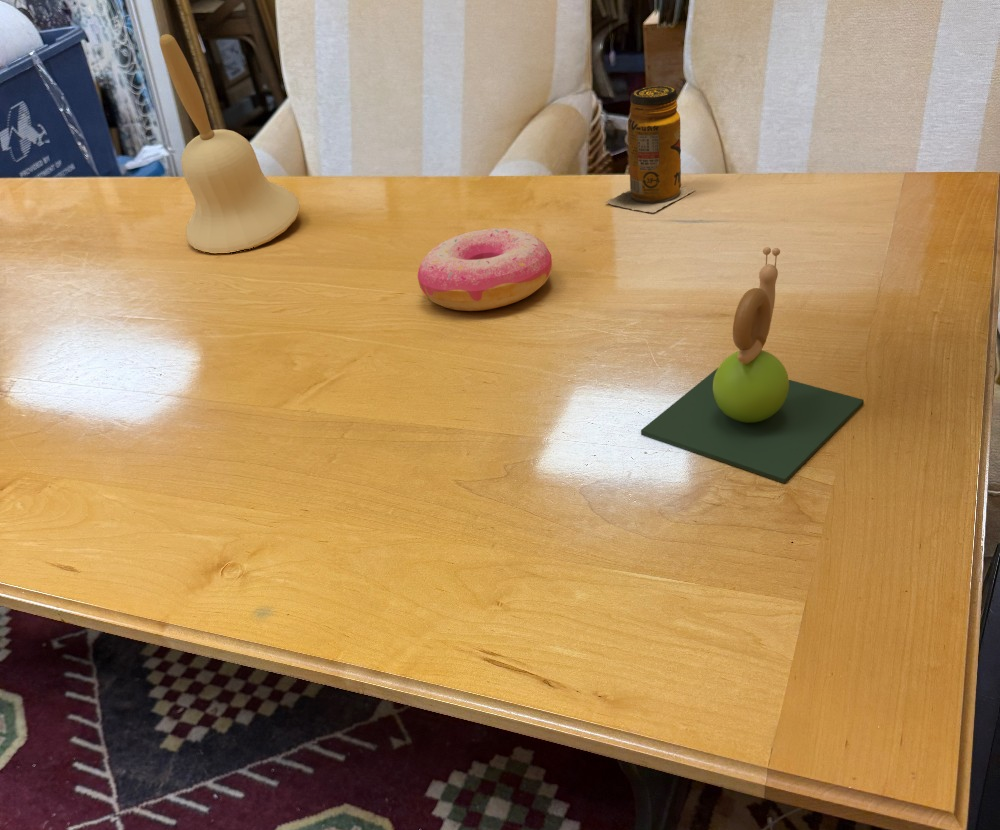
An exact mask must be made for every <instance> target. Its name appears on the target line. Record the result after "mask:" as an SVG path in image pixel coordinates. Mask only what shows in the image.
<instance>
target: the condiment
mask: <svg viewBox="0 0 1000 830" xmlns="http://www.w3.org/2000/svg"><path fill="white" fill-rule="evenodd" d="M677 97H678V93H677V89H676V88H674V87H672V86H669V85H653V86H645V87H641V88H639V89H636V90H633V92H631V94H630V97H629V100H630V108H629V113H630V115H629V118H628V120H627V139H628V159H629V160H628V163H629V164H628V165H629V189H630V190H628V191H625V192H622V193H620V194H619V195H617V196H616V197H613V198H610V199H608V200H607V201H605V202H604V203H605V204H609V205H611V206H615V207H620V208H622V209H623V208H624V209H628V210H629V209H630V210H631V211H634V210H635V211H641V212H644V213H646V212H647V213H651V214H654V213H656V212H657V211H659V210H661V209H663V208H664V207H666V206H669V205H670V204H673V203H674V202H676V201H678V200H681V199H682V198H684V197H686V196H688V195H689V194H692V193H694V192H695V190H696V188H693V187H685V186H683V187H682V170H681V169H682V167H681V164H682V159H681V152H682V149H681V143H682V142H681V115H680V113H679V111H678V110H677V109H678V101H677V100H678V99H677Z"/></svg>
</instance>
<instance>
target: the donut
mask: <svg viewBox="0 0 1000 830" xmlns="http://www.w3.org/2000/svg"><path fill="white" fill-rule="evenodd" d="M552 268H553V259H552V253H551V251H550V250H549V248H548V247H547V245H546V243H545V242H544V241H543V240H542V239H540V238H539V237H537V236H536V235H533V234H532V233H530V232H527V231H524V230H520V229H515V228H504V227H503V228H502V227H500V228H499V227H497V228H495V227H494V228H484V229H478V230H473V231H469V232H465V233H461V234H458V235H455V236H453V237H450V238H448V239H446V240H443V241H441V242H440V243H439V244H437V245H435V246H434V247H433V248H432V249H431V250H430V251H429V252H428V253H427V254H426V255H425V256H424V257H423V258H422V260H421V262H420V264H419V267H418V271H417V282H418V286H419V288H420V289H421V292H422V293H423V294H424V295H425V297H427V299H428V300H429V301H431V302H433V303H434V304H436V305H439V306H440V307H442V308H447V309H449V310H454V311H465V312H473V311H474V312H475V311H487V310H493V309H497V308H501V307H506V306H509V305H511V304H514V303H518V302H519V301H521V300H523V299H527V298H528V297H529V296H531V295H532V294H534V293H535V292H536V291H537V290H539V289H540V288H541V287H543V285H545V284H546V282H547V281H548V279H549V278H550V275H551V272H552V270H553V269H552Z"/></svg>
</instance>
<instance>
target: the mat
mask: <svg viewBox="0 0 1000 830" xmlns="http://www.w3.org/2000/svg"><path fill="white" fill-rule="evenodd" d="M717 369H718V367H717V368H716V369H714V370H713V371H712V372H711V373H709V374H708V375H707V376H706V377H705V378H703V379H702V380H701V381H699V382H698V383H697V384H696V385H694V386H693V387H692V388H691V389H689V390H688V391H687V392H686V393H684V394H683V395H682V396H681V397H680V398H678V399H677V400H676V401H675V402H674V403H672V404H671V405H670V406H669V407H667V408H666V409H665V410H664V411H663V412H661V413H660V414H659V415H658V416H657V417H655V418H654V419H652V421H650V422H649V423H648V424H646V426H644V427H643V428H642V429H640V435H642V436H644V437H648V438H651V439H654V440H658V441H659V442H662V443H665V444H669V445H671V446H674V447H676V448H680V449H683V450H686V451H689V452H692V453H695V454H697V455H700V456H702V457H706V458H709V459H712V460H715V461H717V462H721V463H724V464H727V465H730V466H732V467H736V468H738V469H740V470H744V471H746V472H750V473H753V474H756V475H759V476H761V477H764V478H767V479H771V480H773V481H776V482H779V483H782V484H786V483H787V482H788V481H789V480H790V479H791V478H792V477H793V476H794V475H795V474H796V473H797V472H798V471H799V470H800V469H801V468H802V467H803V466H804V465H805V464H806V463H807V462H808V461H809V460H810V459H811V457H813V456H814V455H815V453H817V452H818V451H819V449H821V448H822V446H823V445H825V444H826V443H827V442H828V440H830V438H832V436H833V435H835V434H836V433H837V432H838V430H840V428H841V427H842V426H843V425H844V424H845V423H847V421H848V420H849V419H850V418H852V416H853V415H854V414H855V413H856V412H857V411H859V409H860V408H861V407H862V406H863V405H864V403H865V400H864V399H863V398H858V397H855V396H853V395H851V396H850V395H847V394H845V393H841V392H837V391H833V390H829V389H825V388H822V387H817V386H814V385H810V384H807V383H803V382H800V381H795V380H791V379H789V390H788V395H787V398H786V400H785V402H784V404H783V405H782V407H781V408H780V409H779V410H778V411H777V412H776V413H775V414H774V415H772V416H771V417H769V418H767V419H765V420H763V421H759V422H754V423H745V422H740V421H737V420H734V419H732V418H730V417H729V416H727V415H726V414H725V413H724V412H723V411H722V410H721V409H720V408H719V406H718V405H717V403H716V400H715V398H714V394H713V380H714V376H715V373H716V371H717Z"/></svg>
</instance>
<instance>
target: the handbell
mask: <svg viewBox="0 0 1000 830" xmlns="http://www.w3.org/2000/svg"><path fill="white" fill-rule="evenodd" d="M159 47H160V51H161V53H162V56H163V59H164V62H165V65H166V69H167V72H168V73H169V75H170V79H171V81H172V84H173V86H174V88H175V91H176V93H177V96H178V98H179V99H180V102H181V103H182V104H181V105H182V106H183V108H184V109H185V111H186V113H187V114H188V116H189V117H190V119H191V121H192V122H193V124H194V127H196V130H197V131H198V133H199V135H196V136H195V137H193V138H192V139H191V140H190V141H189V142H188V143H187V144H186V146H185V147H184V149H183V151H182V154H181V158H180V164H181V171H182V174H183V178H184V181H185V182H186V185H187V187H188V188H189V190H190V193H191V194H192V196H193V198H194V202H195V205H194V209H193V212H192V214H191V216H190V219H189V220H188V222H187V225H186V227H185V228H186V229H185V235H186V242H187V243H188V244H189V245H190V246H191V247H193V248H194V249H195V250H196V249H198V250H204V251H209V252H230V251H237V250H244V249H249V250H251V249H250V248H252V249H254V248H257V247H259V246H261V245H263V244H266V243H268V242H270V241H272V240H273V239H275V238H276V237H278V236H280V235H281V234H282V233H284V232H285V231H287V229H288V228H289V227H290V226H291V225H292V224H293V223H294V222H295V221H296V220H297V217H298V214H299V212H300V208H301V205H300V204H301V203H300V201H299V197H298V196H297V194H295V193H293V192H292V191H291V190H290V189H288V188H286V187H285V186H283V185H280V184H278V183H275V182H274V181H273V182H272V181H270V180H269V179H268V178H267V177H266V176H265V174H264V172H263V171H262V168H261V166H260V163H259V160H258V158H257V157H258V156H257V155H256V152H255V149H254V147H253V146H252V144H251V143H250V141H249V140H248V139H247V138H245V137H244V136H243V135H241V134H240V133H238V132H236V131H234V130H229V129H224V128H223V129H222V128H221V129H220V128H219V129H212V128H211V124H210V121H209V116H208V113H207V109H206V106H205V102H204V99H203V96H202V95H203V94H202V93H201V90H200V87H199V85H198V82H197V80H196V78H195V76H194V73H193V71H192V68H191V67H190V65H189V63H188V60H187V59H186V57H185V55H184V53H183V51H182V49H181V48H180V46H179V44H178V42H177V40H176V38H175V37H174V36H173V35H171V34H168V33H165V34H162V35H161V36H160V38H159ZM253 247H254V248H253ZM198 250H197V251H198ZM244 251H245V250H244Z"/></svg>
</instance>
